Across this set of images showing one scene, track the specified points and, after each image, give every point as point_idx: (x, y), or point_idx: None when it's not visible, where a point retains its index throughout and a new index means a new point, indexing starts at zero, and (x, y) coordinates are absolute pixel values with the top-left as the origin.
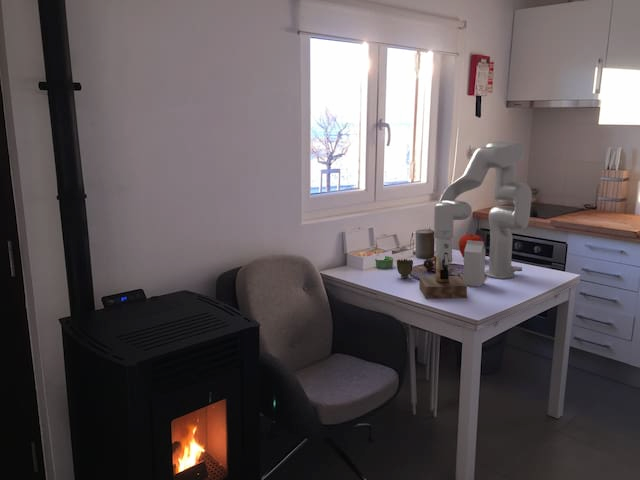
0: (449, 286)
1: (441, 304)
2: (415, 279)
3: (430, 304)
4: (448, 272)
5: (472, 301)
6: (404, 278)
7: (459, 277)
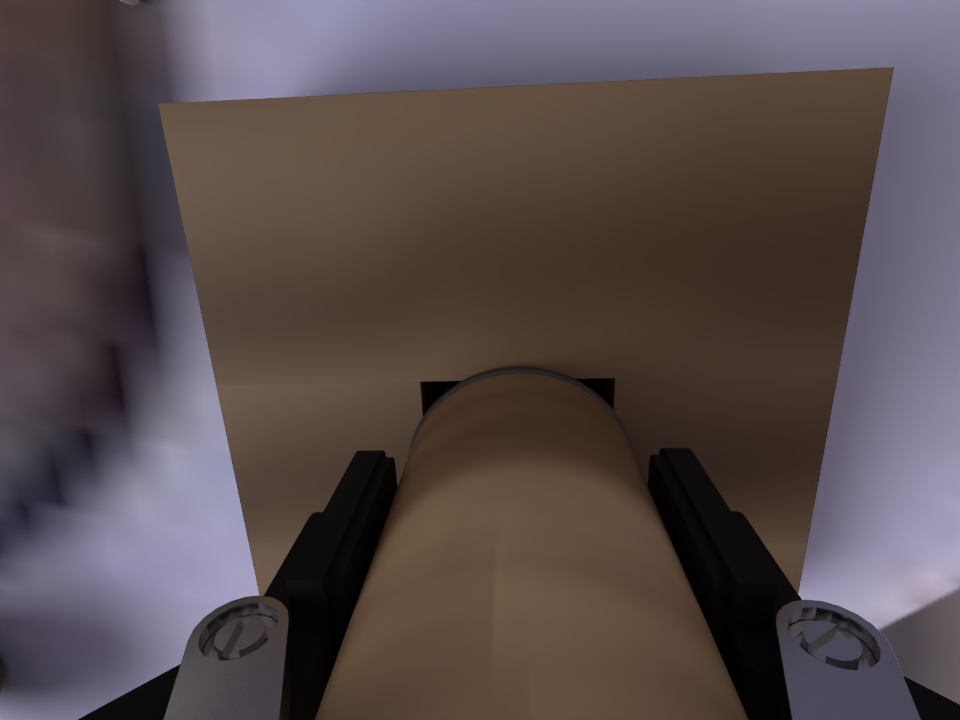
0: (830, 414)
1: (941, 475)
2: (6, 577)
3: (903, 579)
4: (628, 489)
5: (954, 44)
6: (1, 670)
7: (276, 103)
